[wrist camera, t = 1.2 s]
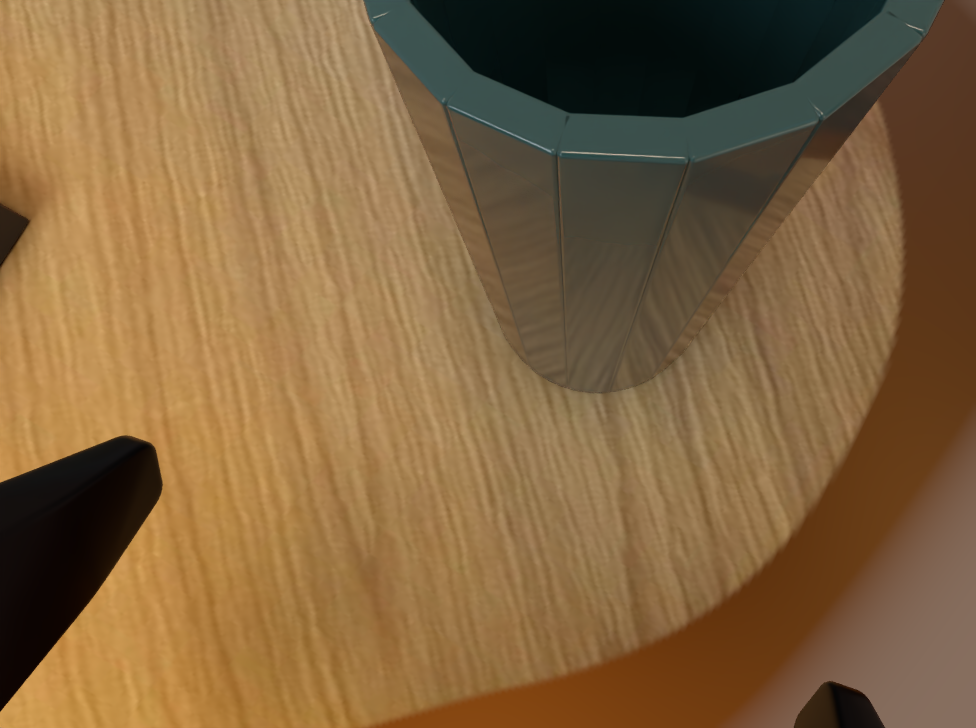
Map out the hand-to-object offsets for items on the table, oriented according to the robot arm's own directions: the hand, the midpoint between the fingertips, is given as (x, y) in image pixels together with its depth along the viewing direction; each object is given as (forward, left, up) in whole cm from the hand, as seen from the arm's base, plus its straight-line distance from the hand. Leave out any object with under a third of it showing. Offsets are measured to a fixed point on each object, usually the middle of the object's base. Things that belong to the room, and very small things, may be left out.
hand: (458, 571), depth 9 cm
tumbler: (+8, +2, -13) cm, 15 cm away
